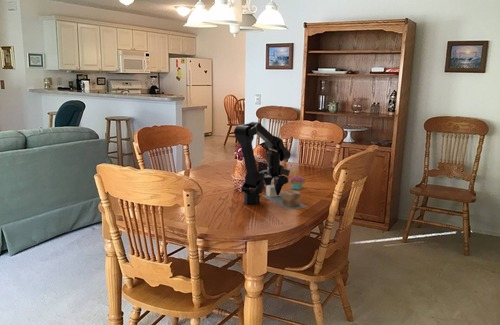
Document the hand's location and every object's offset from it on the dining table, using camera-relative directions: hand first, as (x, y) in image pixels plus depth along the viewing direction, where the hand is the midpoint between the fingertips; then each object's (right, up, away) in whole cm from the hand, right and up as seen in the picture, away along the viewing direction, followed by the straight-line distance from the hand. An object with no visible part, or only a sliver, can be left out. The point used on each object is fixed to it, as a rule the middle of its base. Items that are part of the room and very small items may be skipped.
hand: (273, 192), depth 213 cm
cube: (+8, -5, -15) cm, 17 cm away
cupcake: (+14, +1, +17) cm, 22 cm away
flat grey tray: (+5, -4, -8) cm, 10 cm away
